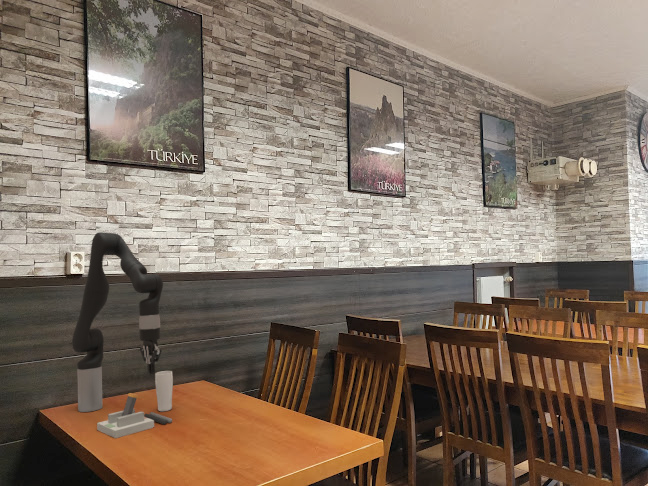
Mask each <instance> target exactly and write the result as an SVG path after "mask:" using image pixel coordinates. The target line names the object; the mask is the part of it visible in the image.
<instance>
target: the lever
mask: <svg viewBox="0 0 648 486" xmlns="http://www.w3.org/2000/svg"><path fill="white" fill-rule="evenodd" d="M138 397H139V395H138V394H135V393H130V392H129V393H128V394H127V399H126V402H125V406H124V408H123V410H124V411H123V410H122V411H123V414H122V416H125V415H129V414H132V412H133V409H135V405H136V402H137V399H138ZM122 416H121V417H122Z"/></svg>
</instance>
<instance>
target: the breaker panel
mask: <svg viewBox="0 0 648 486" xmlns="http://www.w3.org/2000/svg"><path fill="white" fill-rule="evenodd" d="M123 411H124V409H123V410H120V411H117V412H111V413H107V420H103V421H100V422H97V424H96V426H97V427H96V429H97V431H99V432H100V433H103V434H105V435H107V436H109V437H112V438H114V439H117V438H121V437H126V436H129V435H133V434H136V433H139V432H143V431H146V430H150V429H153V427H154V428H155V421H154V420H152V419H149V418H147V417H144V415H145V412H144V411H138V412H136V410H135V408H134V409H133V412H132V414H129V415H125V416H122V414H123ZM121 416H122V417H121Z"/></svg>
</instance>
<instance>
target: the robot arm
mask: <svg viewBox="0 0 648 486" xmlns="http://www.w3.org/2000/svg"><path fill="white" fill-rule="evenodd" d="M89 255H90V256H89V257H90V258H89V265H88V271H87V277H86V282H85V286H84V291H83V295H82V302H81V307H80V311H79V315H78V318H77V321H76V325H75V329H74V332H73V334H72V339H71V340H72V341H71V343H72V344H71V346H72V349H73V351H74V352H75V353H78V354H79V353H80V354H81V353H86V355H85V356H84V357H83V358H81V359H80V360H79V361H77V364H76V365H77V366H76V367H77V373H76V374H77V411H78V412H80V413H87V412H88V413H89V412H93V411H98V410H101V409H103V373H102V372H103V368H102V365H103V359H104V343H105V342H104V335H103V332H102V330H101V329H99V328H91V327H92V324H93V322H94V320H95V319H96V317H97V316H98V314H100V312H101V310H102V309H103V308H104V307H105V305H106V304H107V301H108V296H109V292H110V283H109V280H108V278H107V276H106V273H105V271H104V268H103V265H104V264H103V261H104V257H105V256H116V257H118V258H119V259H120V268H121V270H122V272H123V273H124V274H125V276H127V277H128V278H129V279H130V282H131V285H132V288H133V290H134V291H136V292H137V293H140V294H148V296H147V297H146V298H145V299H142V300H140V302H139V303H138V309H139V320H138V328H139V329H138V331H139V332H138V334H139V341H141V342H143V343H142V347H140V348H139V352H140V354H141V357H142V360H143V362H145V363H146V364H147V365H146V366H147V374H148V375H153V374H154V375H155V373H156V366H155V365H156V363H158V362H159V360H160V357H161V354H162V349H161V348H159V344H158V340H160V339H161V338H162V337H161V319H160V301H161V297H162V291H163V288H164V281H163V278H162V277H161V275H159V274H158V273H149V274H148V269H147V267H146V266H145V265H144V264H142V262H141V261H139V259H138V258H137V257H136V255H134V254H133V252H132V251H131V249H130V248H129V246H128V244H127V243H126V241H125V240H124V238H123V237H122V236H121V235H120V234H118V233H116V232H115V233H114V232H113V233H112V232H97V233H95V235H94V236H93V238H92V240H91V246H90V254H89Z"/></svg>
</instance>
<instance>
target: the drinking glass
mask: <svg viewBox="0 0 648 486" xmlns="http://www.w3.org/2000/svg"><path fill="white" fill-rule="evenodd" d="M154 379H155V381H154V383H155V393H156V401H157V410H158V412H168V411H171V410H172V409H173V402H172V401H173V384H174V380H173V379H174V377H173V370H164V371H157V372H155V373H154Z"/></svg>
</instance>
